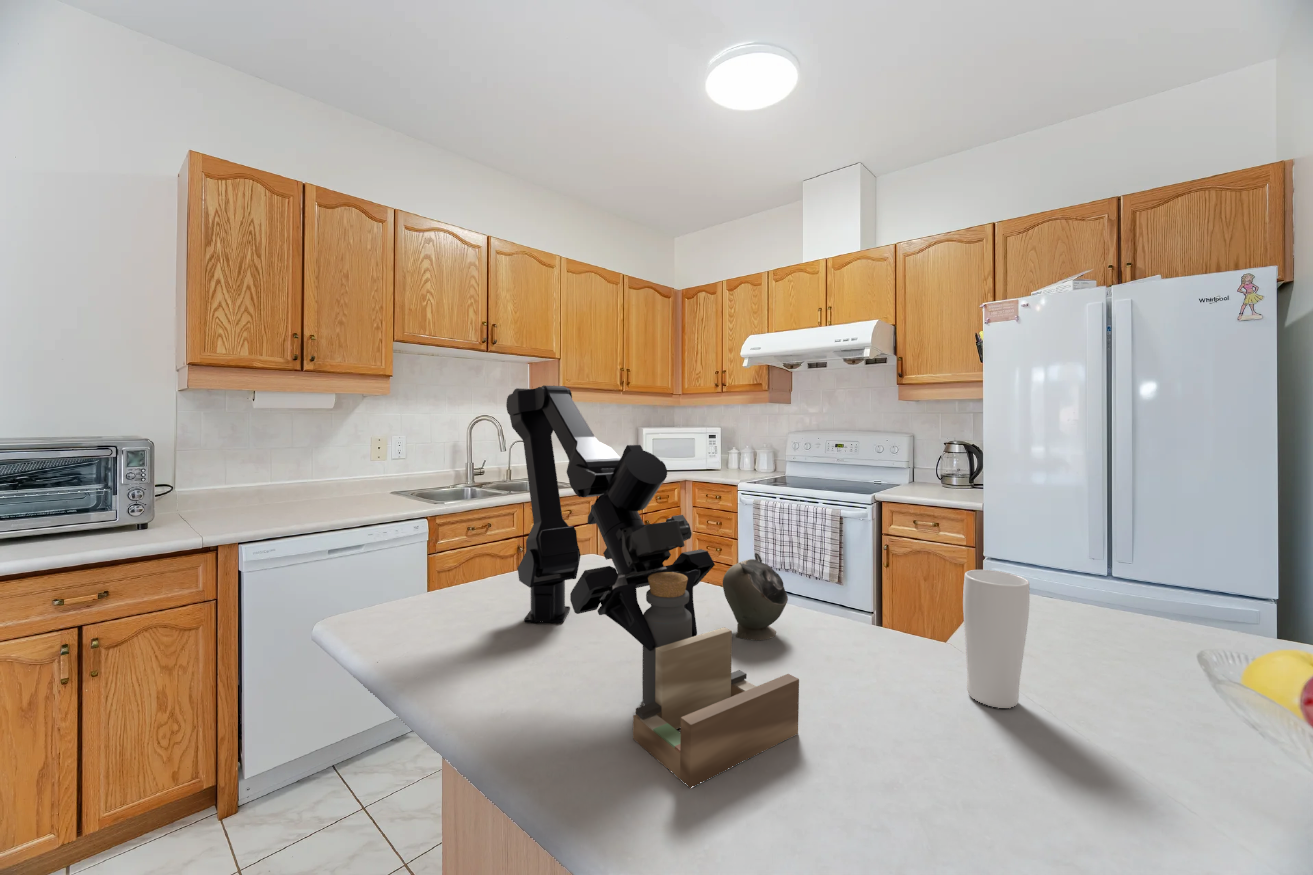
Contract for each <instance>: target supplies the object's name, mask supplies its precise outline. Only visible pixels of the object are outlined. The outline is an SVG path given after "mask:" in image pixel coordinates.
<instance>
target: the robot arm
mask: <svg viewBox="0 0 1313 875" xmlns="http://www.w3.org/2000/svg"><path fill="white" fill-rule="evenodd" d="M572 393H573V392H572V391H571V389H570V388H568V387H567V386H563V385H542V386H538V387H536V388H520V387H519V388H517V387H516V388H515V389H514V390H513V391H512V393H510V394H509V395H508V396H507V398H506V405H505V406H506V411H507V414H508V415H509V420H510V423H511V427H512V429H513V430H514V431H515V432H516V434H517V435H518V436H519V437H520V439H521V440H522V441H523V442H522V443H523V450H524V457H525V458H524V459H525V464H526V473H527V481H528V489H529V490H528V491H529V496H530V506H531V511H532V512H531V513H532V521H533V524H532V527H531V529H530V531H529V534H528V536H527V538H526V542H525V545H526V546H525V547H526V551H525V553H524V555H523V557H522V559H521V561H520V563H519V565H518V567H517V573H518V575H517V576H518V581H519V582H521V583H522V584H524V585H525V586H527V587H528V588H529V589H530V609H529V612H528V613H527V614H526V616H525V617H524V618H523V621H524V623H555V624H556V623H557V624H561V623H564V622H565V620H566V618H567V616H568V614H569V613H570V611H571V606H572V609H573V612H574V614H576V615H579V614H583V613H588V612H593V611H596V610H597V613H598V615H599V616H602V615H603V616H604V615H605V616H607V617H608V618H609V619H611V620H612V621H614V622H615V623H616V624H617V625H619V626H620V627H621V628H623V630H625V631H626V632H627V633H629V634H630V635H631V636H632V637H633V638H634V639H635V640H637V642H639V643H640V644H641V646H642V647H643V646H644V647H645V648H647V649H648V650H649V651H652V650H653V649H654V648H655V647H656V646H655V642H654V639H653V636H652V633H651V631H650V629H649V626H648V624H647V622H646V620H645V617H644V615H643V614H644V612H643V611H642V609H641V607H640V606H641V605H640V604H639V602H638V594H637V589H639V588H642V587H647V586H649V581H648V577H649V576H650V575H652V574H655V573H660V572H674V573H680V574H683V575H685V576H687V578H688V580H687V585H686V590H687V591H688V592H689V602H688V603H687V604H685V605H684V608H686V609H687V610H688V611H689V612H690V613H691V615H692V637H694V636H697V635H698V630H697V629H698V628H697V619H696V613H695V612H696V611H695V605H694V604H695V603H694V587H695V586H698V584H699V583H700V582H701V581H702V580H703V579H704V578H705V577H706V575H707V574H708V573H709V572H710V571H711V570H712V569H713V567H714V566H716V564H715V562H714V559H713V558H712V557H711V555H710V553H709V551H708V550H705V549H702V548H700V549H695V550H689V551H685V552H681V553H680V554H679V555H678V556H677V558H676V559H675V561H674V562H673V563H672V564H669V565H664V562H665V561H668V560H669V559H670V557H671V556H672V554H671V552H670V551H672V550H675V549H677V548H680V549H682V548H683V547H685V546H686V545H685V541H688V540H690V539H691V538H692V535H693V533H692V529H691V526H690V523H689V522H688V521H687V519H686V518H685V516H684V514H678V515H671V517H670V518H666V520H665V521H663V522H654V523H648V524H645V523H644V521H643V519H642V517H641V515H640V513H639V512H640V511H643V510H644V509H646V508H647V507H648V506H649V504H650V503H651V501H652V500H653V498H654V496H655V495H656V493H657V492H658V490H659V489H660V488H661V486H662V485H663V483H664V482H665V480H666V478H667V477H668V476H667V475H668V468H667V467H666V464H665V462H664V461H663V460H660V459H659V457H657V456H656V455H654V454H653V453H650V452H649V451H646V450H644V449H643V447H642V446H641V444H627V445H626V447H625V448H624V450H623V453H622V455H621V457H620V456H619V455H618V453H617V452H616V451H615V450H614V449H613V447H611V446H609V445H607V444H605V443H603V442H601V441H599V440H598V438H597V437H596V436H595V435H594V433H593V431H592V429H591V428H590V427H589V424H588V423H587V421H586V420H585V418H584V416H583V415H582V413H581V412H580V409H579V408H578V406H577V404H576V403H575V401H574V400H573V395H572ZM553 432H554V434H555V435H556V437H557V439H558V442H559V443H560V445H561V447H562V449H563V450H564V453H565V454H566V457H567V460H568V464H567V467H566V475H567V478H568V483H569V485H570V487H571V489H572V490H573V492H574V494H575V495H576V496H577V497H579V498H591V497H597V498H596V500H595V502H594V503H593V504H591V505H590V512H589V513H588V515H587V524H588V525H596V526H597V528H598V530H599V533H600V536H601V538H602V540H603V541H604V545H605V546H606V547H605V549H604V551H603V556H604V559H605V560H611V561H612V563H613V565H614V567H613V566H610V565H607V566H602V567H601V566H600V567H596V568H590V569H585V570H584V571H583V572H582V573H581V576H580V577H579V579H578V580H577V582H576V583H575V585H574V586H573V588H572V590H571V591H570V596H569V597H570V598H569V600H570V603H571V606H567V605H566V581H569V580H576V579H577V576H578V573H579V572H578V571H579V565H580V561H581V551H580V547H579V544H578V537H577V535H578V534H577V530H576V528H575V527H574V526H569V524H568V523H567V522H566V521H565V519H564V517H563V512H562V504H561V497H560V491H559V483H558V474H557V469H556V468H557V467H556V462H555V454H554V453H555V452H554V447H553V440H552V439H553V438H552V435H553Z"/></svg>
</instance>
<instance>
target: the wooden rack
mask: <svg viewBox="0 0 1313 875" xmlns="http://www.w3.org/2000/svg"><path fill="white" fill-rule="evenodd" d="M799 688H800V679H799V678H798V677H796V676H794V675H792V674H790V673H787V674H784V675H782V676H779V677H777V678H774V679H772V680H769V681H767V682H764V683H762V684H759V685H757V686H756V685H755V684H753V683H751V682H749V681H747V679H744V680H742V681H739V682H737V683H734V684H731V697H730V698H727V699H725V700H722V701H720V702H717V703H715V704H712V705H710V706H707V707H705V708H703V709H700V710H698V711H695V712H693V713H690V714H688V715H685V716H683V717H681V728H680V731H678V729H675V728H673V727H672V726H671V725H669V724H668V723H667V722H666V721H664V720H663V719H662V718H660V717H659V716H658V715H656V714H654V715H652V716H649V717H647V718H644V719H642V718H640V717H639V716H638V715H637V714H636V713H635V714H634V715H633V716H632V717H633V718H632V719H633V720H632V726H633V727H632V739H633V740H634V741H635V742H637V743H638V744H639V746H641V747H642V748H643V749H644V750H646V752H647V753H649V754H650V755H651V756H652V757H653V758H654V759H655V760H657V761H658V762H659V763H660V764H661V765H662V766H664V767H665V768H666V769H667V768H668V769H669V770H670V771H669V770H668V769H667V770H668V771H669V772H671V771H672V772H673V773H674V774H675V775H676V776H677V777H678V778H677V777H676V776H675V775H674V774H673V773H672V772H671V773H672V774H673V775H674V776H675V777H676V778H677V779H679V780H680V779H681V780H682V781H683V782H684V783H686V784H687V785H688V786H689V787H690V788H691V787H692V786H695V785H697V784H699V785H701V784H700V782H703V781H705V782H707V781H708V780H707V779H709V778H711V777H712V778H714V777H716V776H718V775H720V774H722V773H724V772H726V771H728V770H729V769H728V768H730V769H732V768H733V767H732V766H734V767H736V766H737V765H736V764H738V763H740V762H742V761H744V760H746V761H747V760H749V759H748V758H750V759H752V758H754V757H755V756H757V755H759V754H761V753H763V752H765V751H767V750H769V749H771V748H773V747H775V746H778V745H779V744H780V742H781V743H783V742H784V740H785V741H786V740H789V739H791V738H792V737H795V736H797V735H798V734H799V711H800V710H799V709H800V708H799V706H800V705H799V704H800V699H799V698H800V689H799ZM788 738H789V739H788ZM778 743H779V744H778ZM762 751H763V752H762ZM758 753H759V754H758ZM756 754H757V755H756ZM754 755H755V756H754ZM753 756H754V757H753ZM751 757H752V758H751ZM744 762H745V761H744ZM742 763H743V762H742ZM740 764H741V763H740ZM735 765H736V766H735ZM738 765H739V764H738ZM731 767H732V768H731ZM727 769H728V770H727ZM725 770H726V771H725ZM723 771H724V772H723ZM721 772H722V773H721ZM719 773H720V774H719ZM717 774H718V775H717ZM715 775H716V776H715ZM713 776H714V777H713ZM712 778H711V779H712ZM681 780H680V781H681ZM706 780H707V781H706ZM709 780H710V779H709ZM682 781H681V782H682ZM683 782H682V783H683ZM684 783H683V784H684ZM703 783H704V782H703ZM688 786H687V787H688ZM697 786H698V785H697ZM689 787H688V788H689ZM695 787H696V786H695ZM690 788H689V789H690ZM691 789H692V788H691Z"/></svg>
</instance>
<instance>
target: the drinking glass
mask: <svg viewBox="0 0 1313 875" xmlns="http://www.w3.org/2000/svg"><path fill="white" fill-rule="evenodd" d="M962 589H963V593H962V611H963V612H962V615H963V626H964V627H963V628H964V641H965V642H964V644H965V656H966V657H965V659H966V660H965V661H966V691H967V693H968V695H969V696H970V698H972V699H973V700H974V699H975V700H974V701H976V702H977V701H978V702H977V703H979V702H980V703H979V704H981V703H983V704H982V705H984V704H986V705H989V706H993V707H998V708H997V709H999V708H1009V709H1012V708H1011V707H1013V708H1015V707H1016V706H1017V705H1018V704H1019V701H1020V698H1019V697H1020V682H1021V676H1022V670H1023V663H1024V662H1023V660H1024V655H1025V654H1024V653H1025V646H1026V639H1027V634H1028V633H1027V632H1028V625H1029V619H1030V617H1029V616H1030V600H1031V599H1030V598H1031V597H1030V596H1031V595H1030V593H1031V592H1030V581H1029V580H1027V578H1025V577H1023V576H1021V575H1017V574H1014V573H1010V572H1005V571H999V570H991V569H972V570H968V571H965V573H964V579H963V588H962ZM986 705H985V706H986ZM989 706H988V707H989ZM1014 706H1015V707H1014ZM993 707H992V708H993Z"/></svg>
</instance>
